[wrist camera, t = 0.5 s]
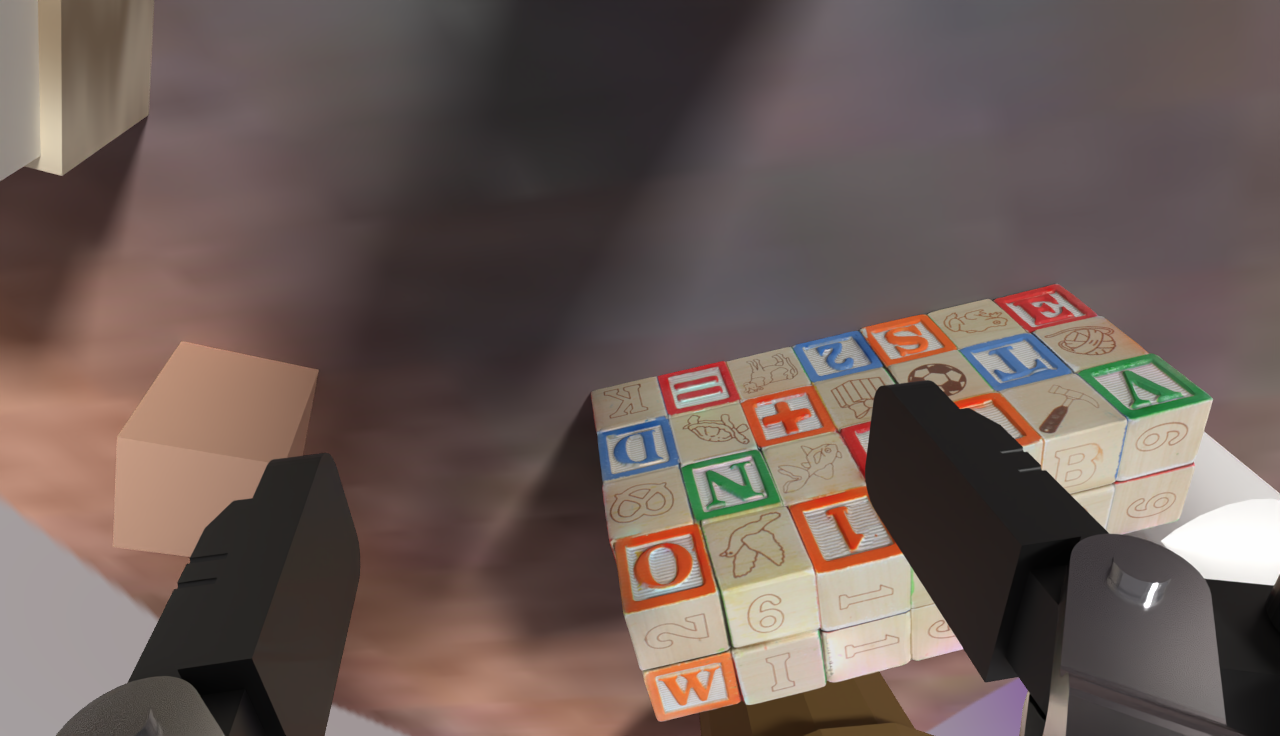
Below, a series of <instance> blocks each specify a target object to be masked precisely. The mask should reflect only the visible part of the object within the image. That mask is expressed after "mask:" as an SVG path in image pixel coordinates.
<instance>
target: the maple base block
mask: <svg viewBox="0 0 1280 736" xmlns="http://www.w3.org/2000/svg"><path fill="white" fill-rule="evenodd" d="M153 14H154V0H38V37H39V93H40V148H41V156H39V157H38V158H36V159H35V160H33V161H32V162H30V163H28V164H27V165H25V167H29V168H33V169H37V170H41V171H45V172H49V173H53V174H56V175H60V176H63V175H64V174H66V173H67V172H68V171H70V170H71V169H73V168H74V167H75V166H77V165H78V164H80V163H81V162H83V161H84V160H85V159H87V158H88V157H90V156H91V155H93V154H94V153H95V152H97V151H98V150H100V149H101V148H102V147H104V146H105V145H107V144H108V143H110V142H111V141H112V140H114V139H115V138H117V137H118V136H119V135H121V134H122V133H124V132H125V131H127V130H128V129H129V128H131V127H132V126H134V125H135V124H136V123H138V122H139V121H141V120H142V119H144V118H145V117H146V116H148V115H149V96H150V76H151V55H152V35H153Z"/></svg>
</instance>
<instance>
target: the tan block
mask: <svg viewBox="0 0 1280 736" xmlns="http://www.w3.org/2000/svg"><path fill="white" fill-rule="evenodd" d="M318 372H319V370H318V369H313V368H308V367H303V366H298V365H294V364H289V363H284V362H279V361H274V360H270V359H265V358H260V357H255V356H250V355H246V354H241V353H236V352H231V351H227V350H222V349H217V348H212V347H207V346H203V345H198V344H193V343H188V342H183V341H181V343H180V344H179V345H178V347H177V348H176V350H175V351H174V353H173V354H172V356H171V357H170V359H169V360H168V362H167V363H166V365H165V366H164V368H163V369H162V371H161V372H160V374H159V375H158V377H157V378H156V380H155V381H154V383H153V384H152V386H151V387H150V389H149V390H148V392H147V393H146V395H145V396H144V398H143V399H142V401H141V402H140V404H139V405H138V407H137V408H136V409H135V411H134V412H133V414H132V415H131V417H130V418H129V420H128V421H127V423H126V424H125V426H124V427H123V429H122V430H121V432H120V433H119V435H118V436H117V450H116V476H115V503H114V529H113V547H117V548H125V549H132V550H140V551H148V552H155V553H163V554H171V555H178V556H186V557H191V555H192V553H193V551H194V549H195V547H196V545H197V543H198V541H199V539H200V537H201V535H202V533H203V531H204V528H205V527H206V526H208V525H209V524H210V523H211V522H212V521H213V520H214V519H215V518H216V517H217V516H218V515H219V514H220V513H221V512H222V511H223V510H224V509H225V508H226V507H227V506H228V505H229V504H230V503H231V502H232V501H235V500H243V499H250V498H253V496H254V494H255V491H256V489H257V487H258V484H259V482H260V480H261V478H262V475H263V473H264V471H265V469H266V466H267V465H268V463H269V462H270V461H271V460H273V459H281V458H289V457H297V456H303V452H304V447H305V441H306V436H307V431H308V426H309V420H310V415H311V410H312V404H313V399H314V394H315V388H316V383H317V378H318Z"/></svg>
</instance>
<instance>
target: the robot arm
mask: <svg viewBox="0 0 1280 736" xmlns="http://www.w3.org/2000/svg"><path fill="white" fill-rule="evenodd" d="M865 481H866V487H867V492H868V495H869V498H870V501H871V503H872V506H873V508H874V509H875V511H876V513H877V514H878V516H879V517H880V519H881V520H882V522H883V524H884V525H885V527H886V528H887V530H888V531H889V533H890V535H891V536H892V538H893V539H894V541H895V542H896V544H897V546H898V547H899V549H900V550H901V552H902V553H903V555H904V556H905V558H906V560H907V561H908V563H909V564H910V566H911V567H912V569H913V571H914V572H915V574H916V575H917V577H918V578H919V580H920V581H921V583H922V585H923V586H924V588H925V589H926V591H927V592H928V594H929V596H930V597H931V599H932V600H933V602H934V603H935V605H936V607H937V608H938V610H939V611H940V613H941V614H942V616H943V617H944V619H945V621H946V622H947V624H948V625H949V627H950V628H951V630H952V632H953V633H954V635H955V636H956V638H957V639H958V641H959V643H960V644H961V646H962V647H963V649H964V650H965V652H966V653H967V655H968V657H969V658H970V660H971V661H972V663H973V664H974V666H975V668H976V669H977V671H978V672H979V674H980V675H981V677H982V679H983V680H984V682H991V681H997V680H1002V679H1008V678H1014V677H1019V678H1020V680H1021V681H1022V682H1023V684H1024V685H1025V687H1026V688H1027V690H1028V693H1027V696H1026V699H1025V702H1024V706H1023V712H1022V720H1021V727H1020V734H1019V736H1280V575H1279V577H1278V579H1277V581H1276V583H1275V585H1263V584H1253V583H1243V582H1233V581H1223V580H1213V579H1204V578H1203V576H1202V575H1201V574H1200V573H1199V571H1197V570H1196V569H1195V568H1194V567H1193V566H1192V565H1191V564H1190V563H1189V562H1187V561H1186V560H1185V559H1184V558H1182V557H1181V556H1179V555H1177V554H1176V553H1174V552H1173V551H1171V550H1169V549H1167V548H1165V547H1163V546H1161V545H1158V544H1156V543H1153V542H1151V541H1148V540H1145V539H1141V538H1138V537H1133V536H1129V535H1121V534H1109V533H1108V532H1107V531H1106V530H1105V529H1104V528H1103V527H1102V526H1101V525H1100V524H1099V523H1098V522H1097V521H1096V520H1095V519H1094V518H1093V517H1092V516H1091V515H1090V514H1089V513H1088V512H1087V511H1086V510H1085V509H1084V508H1083V507H1082V506H1081V505H1080V504H1079V503H1078V502H1077V501H1076V500H1075V499H1074V498H1073V497H1072V496H1071V495H1070V494H1069V493H1068V492H1067V491H1066V490H1065V489H1064V488H1063V487H1062V486H1061V485H1060V484H1059V483H1058V482H1057V481H1056V480H1055V479H1054V478H1053V477H1052V476H1051V475H1050V474H1049V473H1048V472H1047V471H1046V470H1042V469H1041V465H1040V464H1039V463H1038V462H1037V461H1036V460H1035V459H1034V458H1033V457H1032V456H1031V455H1030V454H1029V453H1028V452H1024V451H1023V447H1022V446H1021V445H1020V444H1019V443H1018V442H1017V441H1016V440H1015V439H1014V438H1013V437H1012V436H1011V435H1010V434H1009V433H1008V432H1007V431H1006V430H1005V429H1004V428H1003V427H1002V426H1001V425H1000V424H998V423H996V422H994V421H992V420H990V419H989V418H987V417H985V416H983V415H981V414H979V413H977V412H976V411H974V410H972V409H970V408H964V409H959V407H958V406H957V405H956V404H955V403H954V402H953V401H952V400H951V399H950V398H949V397H948V396H947V395H946V394H945V393H944V392H943V391H942V390H941V389H940V387H939V386H938V385H937V384H935V383H934V382H933V381H930V380H924V381H916V382H908V383H900V384H892V385H884V386H880V387H879V388H878V389H877V391H876V393H875V396H874V401H873V409H872V417H871V425H870V433H869V441H868V449H867V456H866V464H865ZM359 576H360V549H359V542H358V537H357V533H356V530H355V527H354V523H353V520H352V517H351V513H350V510H349V507H348V504H347V500H346V497H345V494H344V490H343V487H342V484H341V480H340V477H339V474H338V471H337V467H336V464H335V462H334V460H333V458H332V456H331V455H330V454H328V453H321V454H313V455H305V456H297V457H289V458H281V459H273V460H271V461H270V462H269V463H268V465H267V466H266V469H265V471H264V473H263V475H262V478H261V480H260V482H259V484H258V487H257V489H256V491H255V494H254V496H253V498H250V499H243V500H235V501H232V502H231V503H230V504H229V505H228V506H227V507H226V508H225V509H224V510H223V511H222V512H221V513H220V514H219V515H218V516H217V517H216V518H215V519H214V520H213V521H212V522H211V523H210V524H209V525H208V526H206V527H205V528H204V531H203V533H202V535H201V537H200V539H199V541H198V543H197V545H196V547H195V549H194V551H193V553H192V555H191V557H190V564H187V565H186V567H185V569H184V571H183V573H182V575H181V577H180V579H179V581H178V589H174V591H173V593H172V595H171V597H170V599H169V601H168V603H167V605H166V607H165V609H164V611H163V613H162V615H161V617H160V619H159V621H158V623H157V625H156V627H155V629H154V631H153V633H152V635H151V637H150V639H149V641H148V643H147V645H146V647H145V649H144V651H143V653H142V655H141V657H140V659H139V661H138V663H137V665H136V667H135V669H134V671H133V673H132V675H131V677H130V679H129V681H128V683H127V684H124V685H122V686H119V687H117V688H115V689H113V690H111V691H109V692H107V693H105V694H103V695H102V696H100V697H99V698H97V699H95V700H94V701H92V702H91V703H89V704H88V705H87V706H86V707H84V708H83V709H82V710H80V711H79V712H78V713H77V714H76V715H75V716H73V718H71V719H70V720H69V721H68V722H67V723H66V724H65V725H64V726H63V728H62V729H61V730H60V731H59V732H58V734H57V735H56V736H325V731H326V726H327V722H328V717H329V713H330V709H331V704H332V700H333V695H334V690H335V686H336V681H337V677H338V672H339V668H340V663H341V659H342V654H343V650H344V645H345V641H346V636H347V632H348V627H349V623H350V618H351V614H352V609H353V605H354V600H355V596H356V591H357V587H358V582H359Z"/></svg>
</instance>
